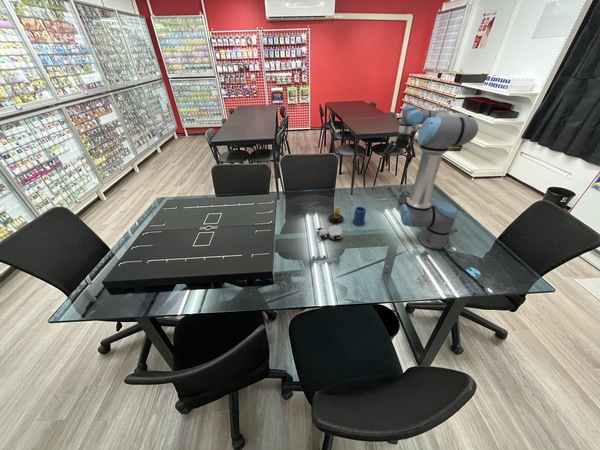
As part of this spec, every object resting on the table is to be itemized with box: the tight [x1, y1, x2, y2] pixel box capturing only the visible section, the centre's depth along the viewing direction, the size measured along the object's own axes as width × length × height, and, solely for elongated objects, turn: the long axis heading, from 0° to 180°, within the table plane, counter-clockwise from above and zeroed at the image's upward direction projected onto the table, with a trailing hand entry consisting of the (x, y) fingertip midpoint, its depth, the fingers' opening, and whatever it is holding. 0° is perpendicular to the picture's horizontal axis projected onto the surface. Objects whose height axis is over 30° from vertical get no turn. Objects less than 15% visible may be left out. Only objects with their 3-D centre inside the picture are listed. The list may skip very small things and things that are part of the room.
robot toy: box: [315, 223, 344, 241], centre depth 143 cm, size 12×4×15 cm
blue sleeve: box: [353, 206, 367, 227], centre depth 153 cm, size 6×6×10 cm
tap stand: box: [328, 205, 344, 225], centre depth 156 cm, size 9×9×10 cm
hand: (396, 166), depth 165 cm, fingers open, 13 cm apart
